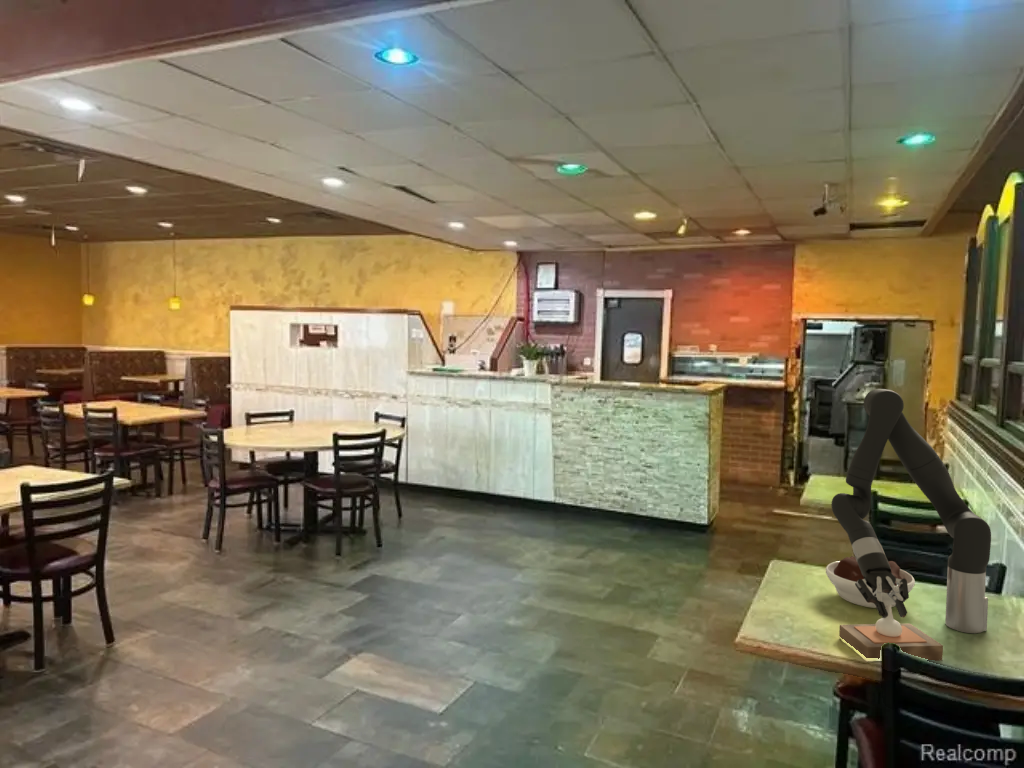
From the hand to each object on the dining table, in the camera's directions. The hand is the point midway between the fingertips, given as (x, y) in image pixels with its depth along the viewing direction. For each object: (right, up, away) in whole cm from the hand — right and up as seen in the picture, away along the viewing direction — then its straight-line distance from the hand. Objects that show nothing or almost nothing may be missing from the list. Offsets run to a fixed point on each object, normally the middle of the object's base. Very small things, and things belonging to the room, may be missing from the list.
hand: (894, 616), depth 184 cm
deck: (0, -10, +2) cm, 10 cm away
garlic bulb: (0, -6, +2) cm, 6 cm away
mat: (0, -6, +2) cm, 6 cm away
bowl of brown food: (+11, -8, +36) cm, 39 cm away
